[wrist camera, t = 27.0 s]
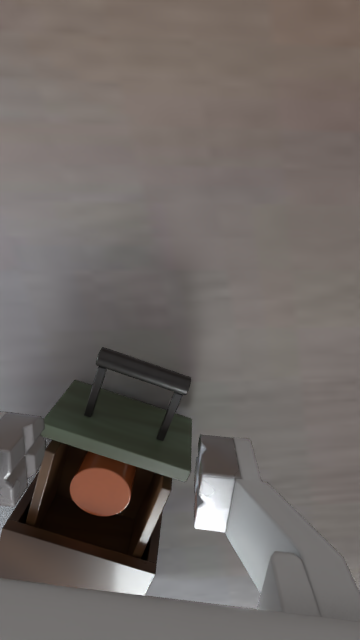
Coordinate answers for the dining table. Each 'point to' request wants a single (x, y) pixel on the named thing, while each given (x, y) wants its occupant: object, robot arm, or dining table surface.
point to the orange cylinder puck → (102, 485)
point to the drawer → (113, 454)
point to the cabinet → (71, 557)
